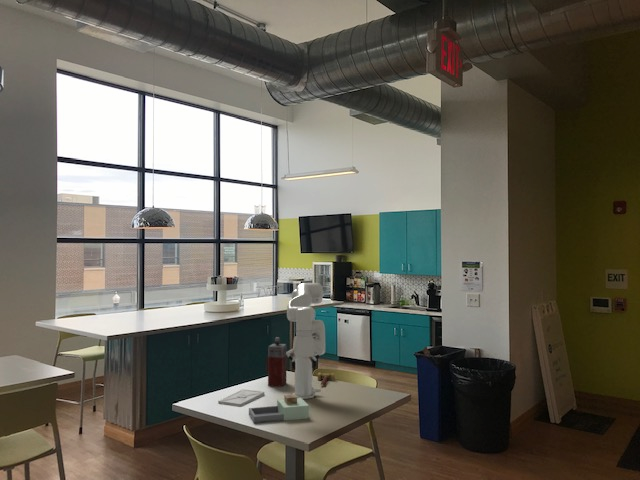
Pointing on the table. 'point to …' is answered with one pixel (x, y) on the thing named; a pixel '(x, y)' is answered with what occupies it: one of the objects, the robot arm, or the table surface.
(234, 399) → the envelope
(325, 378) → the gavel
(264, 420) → the tray
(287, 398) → the tile
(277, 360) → the red liquor decanter
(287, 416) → the mint green lidded box
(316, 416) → the table surface
